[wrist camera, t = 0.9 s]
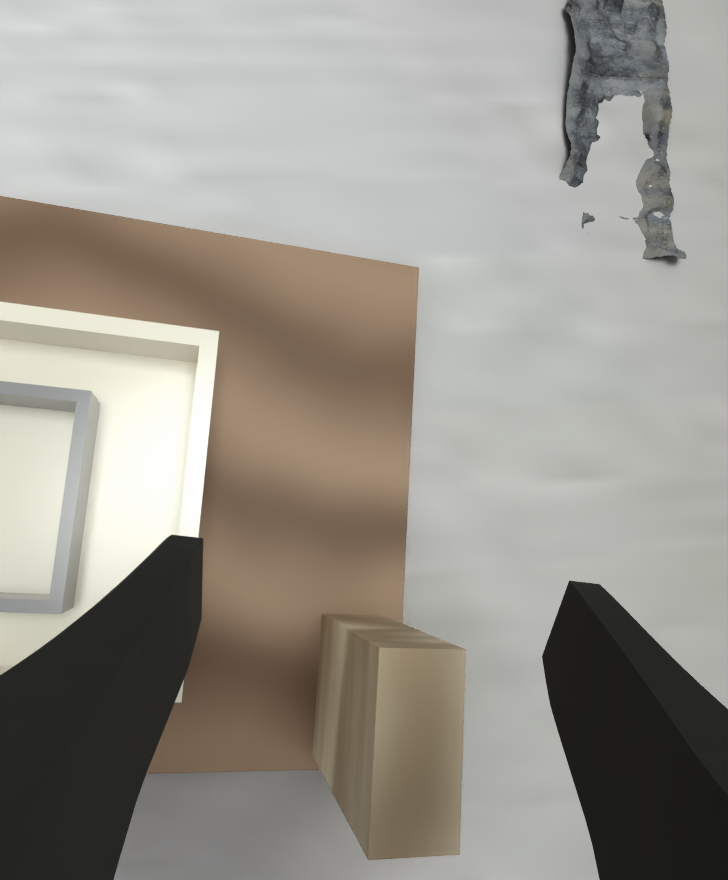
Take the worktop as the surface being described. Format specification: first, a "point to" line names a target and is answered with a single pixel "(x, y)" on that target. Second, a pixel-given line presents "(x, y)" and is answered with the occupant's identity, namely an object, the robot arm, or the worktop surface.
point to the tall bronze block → (391, 734)
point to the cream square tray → (92, 458)
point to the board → (259, 450)
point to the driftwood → (624, 73)
